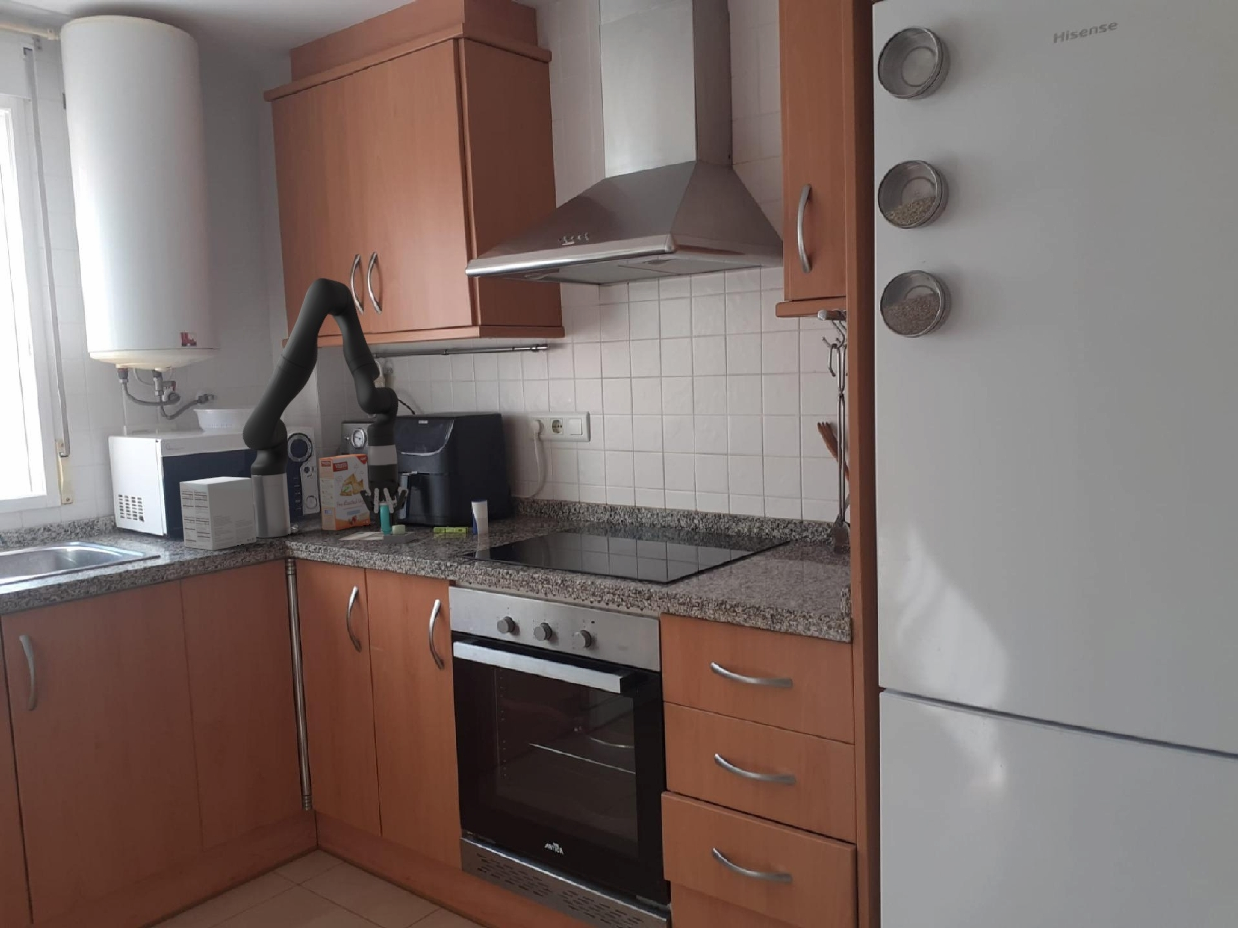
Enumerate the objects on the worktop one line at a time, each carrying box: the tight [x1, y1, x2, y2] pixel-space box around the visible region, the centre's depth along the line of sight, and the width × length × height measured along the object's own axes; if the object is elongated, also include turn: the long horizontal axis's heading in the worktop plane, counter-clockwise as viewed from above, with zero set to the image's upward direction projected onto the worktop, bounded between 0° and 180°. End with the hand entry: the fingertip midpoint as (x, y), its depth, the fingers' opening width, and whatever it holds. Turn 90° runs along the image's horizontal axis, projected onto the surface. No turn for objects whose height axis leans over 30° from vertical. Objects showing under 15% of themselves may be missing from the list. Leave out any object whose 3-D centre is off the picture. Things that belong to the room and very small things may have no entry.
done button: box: [391, 524, 406, 535], centre depth 253 cm, size 3×3×3 cm
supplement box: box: [179, 476, 257, 551], centre depth 261 cm, size 13×13×18 cm
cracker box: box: [318, 453, 371, 531], centre depth 281 cm, size 14×6×21 cm, turn 152°
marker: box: [379, 501, 392, 535], centre depth 263 cm, size 3×3×9 cm
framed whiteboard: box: [337, 531, 392, 541], centre depth 263 cm, size 16×13×1 cm
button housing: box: [382, 531, 416, 544], centre depth 253 cm, size 6×6×2 cm
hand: (386, 526), depth 263 cm, fingers closed on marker, 3 cm apart
